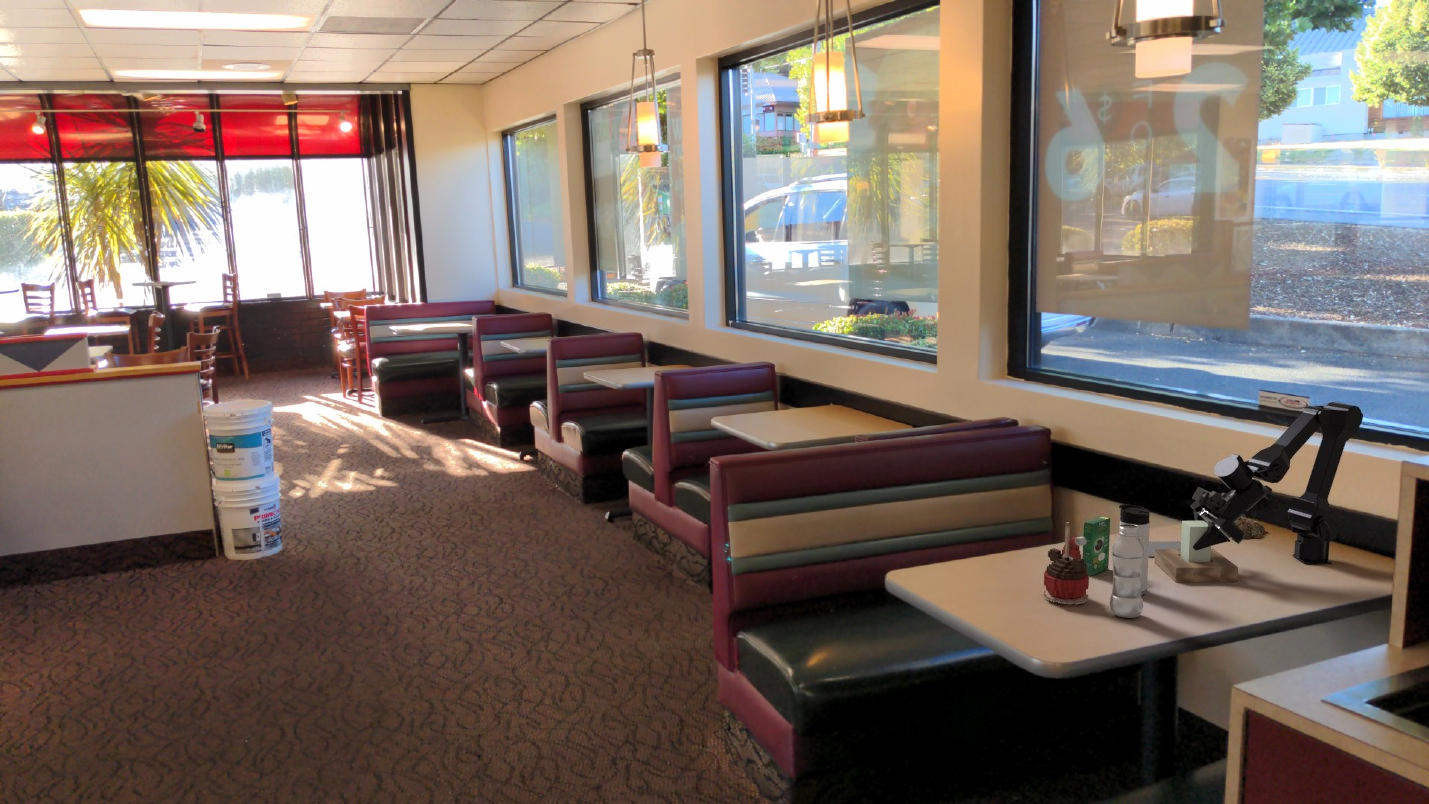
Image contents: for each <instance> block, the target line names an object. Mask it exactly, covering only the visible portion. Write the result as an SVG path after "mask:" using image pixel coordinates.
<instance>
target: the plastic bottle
mask: <svg viewBox="0 0 1429 804" xmlns="http://www.w3.org/2000/svg"><path fill="white" fill-rule="evenodd" d="M1118 527H1119V530H1118V535H1120V537H1119V536H1118V537H1117V539H1116V540H1115V541H1114V542H1113V543H1112V545H1111V548H1110V551H1111V559H1112V560H1111V561H1112V570H1113V571H1112V572H1113V574H1112V575H1113V577H1112V578H1113V580H1112V588H1111V589H1112V590H1111V594H1110V598H1109V607H1110V608H1109V609H1110V611H1111V612H1112V614H1113V615H1115V616H1117V617H1120V618H1126V619H1135V618H1138V617H1140V615H1142V613H1143V609H1144V602H1143V595H1142V596H1141V569H1142V563H1143V558H1144V548H1143V546H1142V544H1141V542H1140V541H1139V540H1138V538H1137V536H1138V535H1139V533H1138V526H1137V525H1133V524H1121V525H1120V524H1119V526H1118Z"/></svg>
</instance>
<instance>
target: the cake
mask: <svg viewBox="0 0 1429 804" xmlns="http://www.w3.org/2000/svg"><path fill="white" fill-rule="evenodd" d="M1070 529H1071V523H1070V522H1069V521H1068V522H1067V521H1066V522H1065V531H1064V533H1065V534H1064V546H1063V547H1062V549H1061V550H1060V549H1058V548H1055V547H1054V548H1050V549H1049V550H1048V551H1047V557H1048V558H1049V561H1051V563H1049V564H1048V565H1047V566H1046V570H1044V572H1043V586H1045V590H1044V591H1043V597H1044V598H1046V599H1045V600H1047V599H1048V600H1047V601H1049V600H1051V601H1050V602H1052V601H1053V602H1052V603H1057V602H1058V604H1059V603H1062V604H1063V603H1064V604H1063V605H1073V604H1074V605H1080V604H1086V602H1088V601H1089V594H1087V590H1088V589H1089V586H1090V576H1089V575H1088V574H1087V570H1086V563H1085V562H1084V559H1082V554H1081V550H1080V548H1081V546H1082V547H1083V545H1085V544H1086V539H1085V537H1083V536H1075V537H1072V538H1070V536H1071V535H1070V534H1071V533H1070V532H1071V530H1070Z"/></svg>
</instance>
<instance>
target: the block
mask: <svg viewBox="0 0 1429 804" xmlns="http://www.w3.org/2000/svg"><path fill="white" fill-rule="evenodd" d="M1207 529H1208V523H1206V522H1205V521H1195V520H1182V521H1181V534H1180V535H1181V539H1180V542H1181V556H1180V557H1181V558H1182V559H1184V560H1185V561H1186V562H1210V556H1211V549H1212V546H1209V547H1206V548H1203V549H1200V550H1195V549H1194V548H1193V546H1194V545H1195V543H1196V542H1197V541H1198V540H1199V539H1200V538H1201V537H1202V535H1203V534H1204V533H1205V532H1206V531H1207Z"/></svg>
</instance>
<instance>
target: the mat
mask: <svg viewBox="0 0 1429 804" xmlns="http://www.w3.org/2000/svg"><path fill="white" fill-rule="evenodd" d="M1155 549H1181V540H1180V541H1179V540H1178V541H1175V540H1173V541H1163V540H1162V541H1157V540H1156V541H1149V552H1148V559H1150V558H1151V559H1152V558H1154V559H1155Z"/></svg>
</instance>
